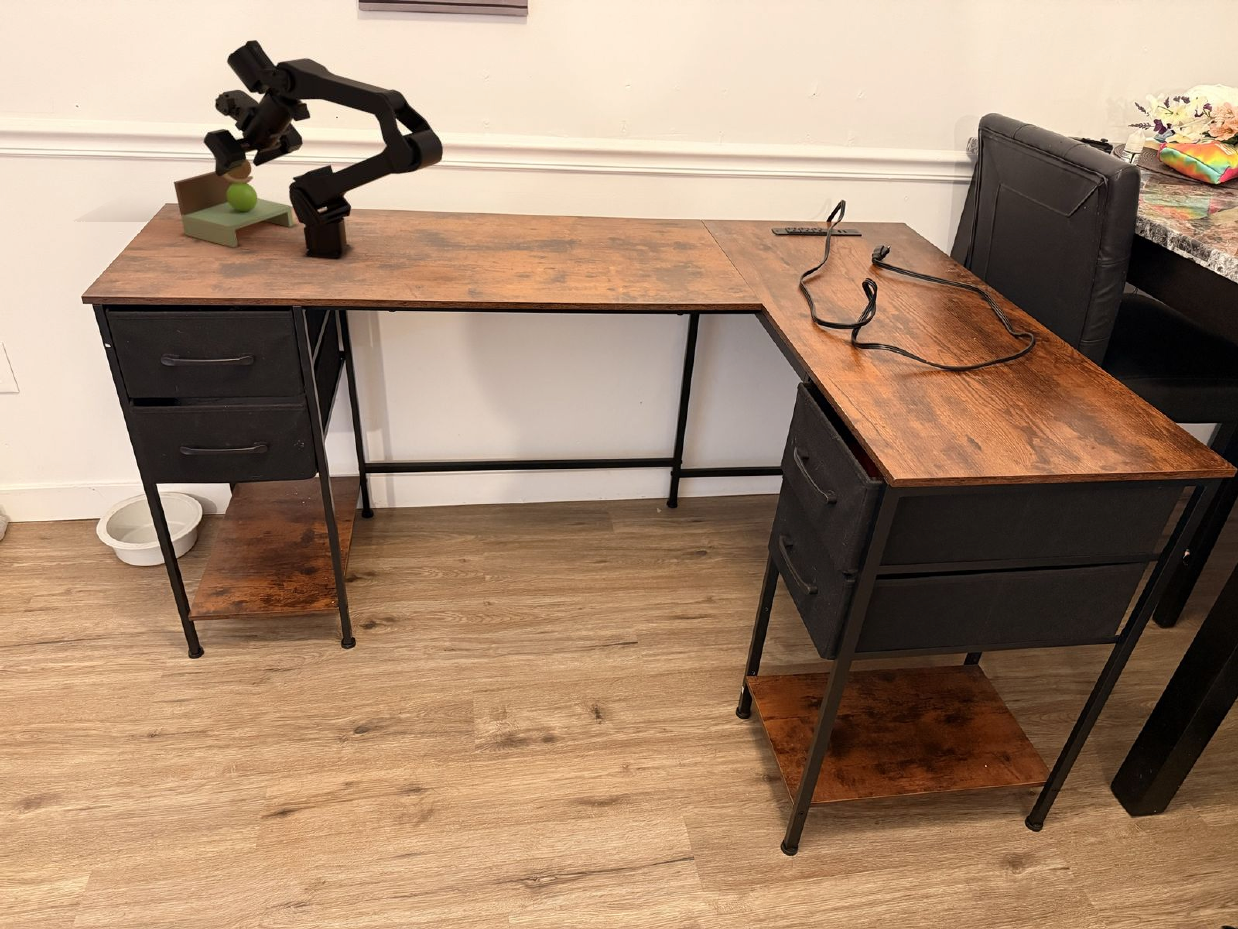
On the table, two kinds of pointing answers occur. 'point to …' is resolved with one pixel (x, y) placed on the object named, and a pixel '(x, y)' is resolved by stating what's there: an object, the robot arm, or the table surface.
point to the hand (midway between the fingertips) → (236, 169)
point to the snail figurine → (241, 188)
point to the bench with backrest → (221, 210)
